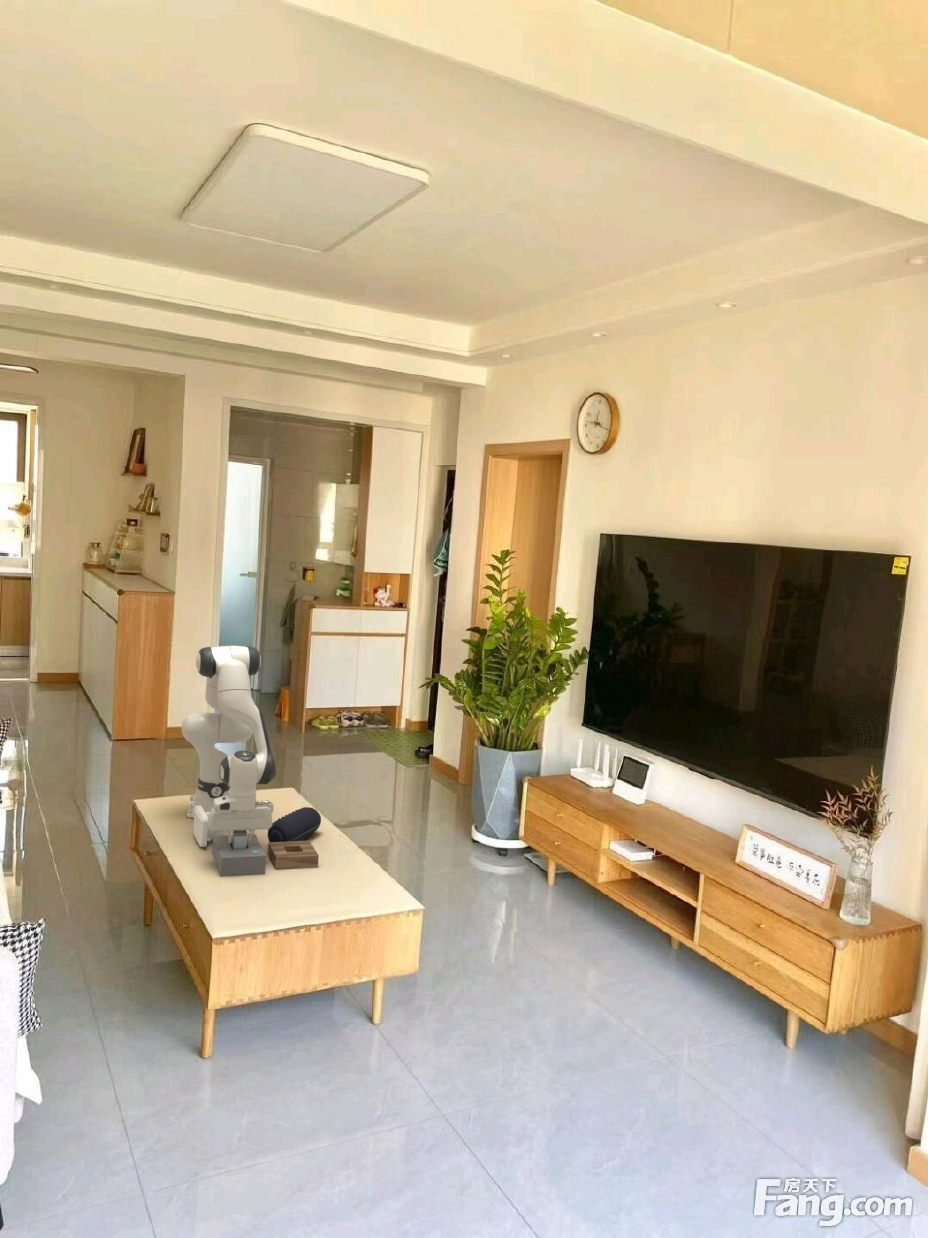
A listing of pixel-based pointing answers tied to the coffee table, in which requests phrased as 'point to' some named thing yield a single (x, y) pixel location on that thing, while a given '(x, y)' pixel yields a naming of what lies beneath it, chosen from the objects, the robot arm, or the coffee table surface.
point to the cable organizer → (203, 827)
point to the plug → (239, 839)
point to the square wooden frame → (292, 854)
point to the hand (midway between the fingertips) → (239, 842)
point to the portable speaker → (295, 825)
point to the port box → (238, 857)
